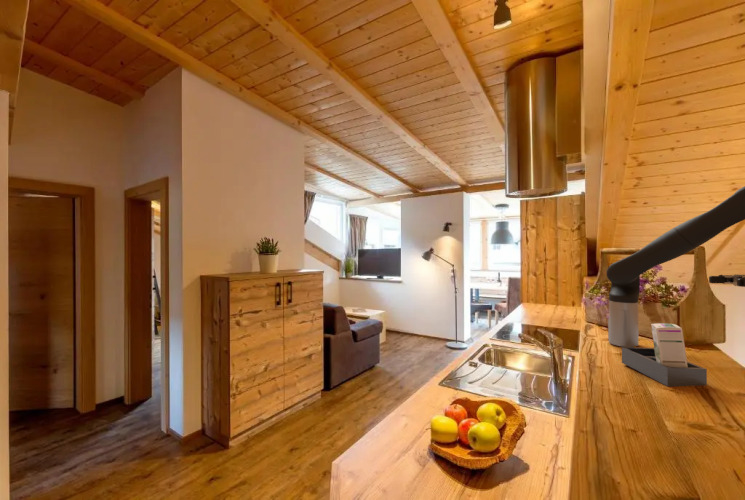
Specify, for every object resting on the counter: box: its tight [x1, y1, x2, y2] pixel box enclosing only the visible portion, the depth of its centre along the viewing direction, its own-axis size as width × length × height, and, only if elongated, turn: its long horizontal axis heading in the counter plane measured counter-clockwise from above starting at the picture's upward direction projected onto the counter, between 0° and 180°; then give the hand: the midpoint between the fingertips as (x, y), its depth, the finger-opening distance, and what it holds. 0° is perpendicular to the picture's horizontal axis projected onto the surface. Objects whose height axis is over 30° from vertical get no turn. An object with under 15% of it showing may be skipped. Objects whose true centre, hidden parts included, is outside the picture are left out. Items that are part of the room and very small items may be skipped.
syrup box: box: [650, 322, 688, 368], centre depth 91 cm, size 6×6×14 cm
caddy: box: [621, 346, 708, 387], centre depth 95 cm, size 18×10×5 cm, turn 174°
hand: (723, 281), depth 94 cm, fingers open, 8 cm apart
